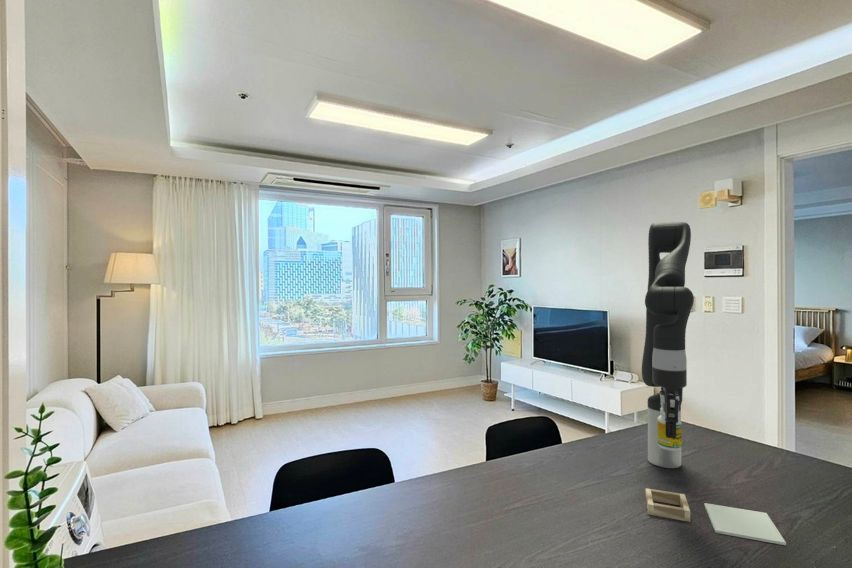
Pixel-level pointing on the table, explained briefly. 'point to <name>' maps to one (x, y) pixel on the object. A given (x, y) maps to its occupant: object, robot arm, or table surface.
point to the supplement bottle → (664, 441)
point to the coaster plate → (743, 523)
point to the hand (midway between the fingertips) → (669, 433)
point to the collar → (667, 510)
